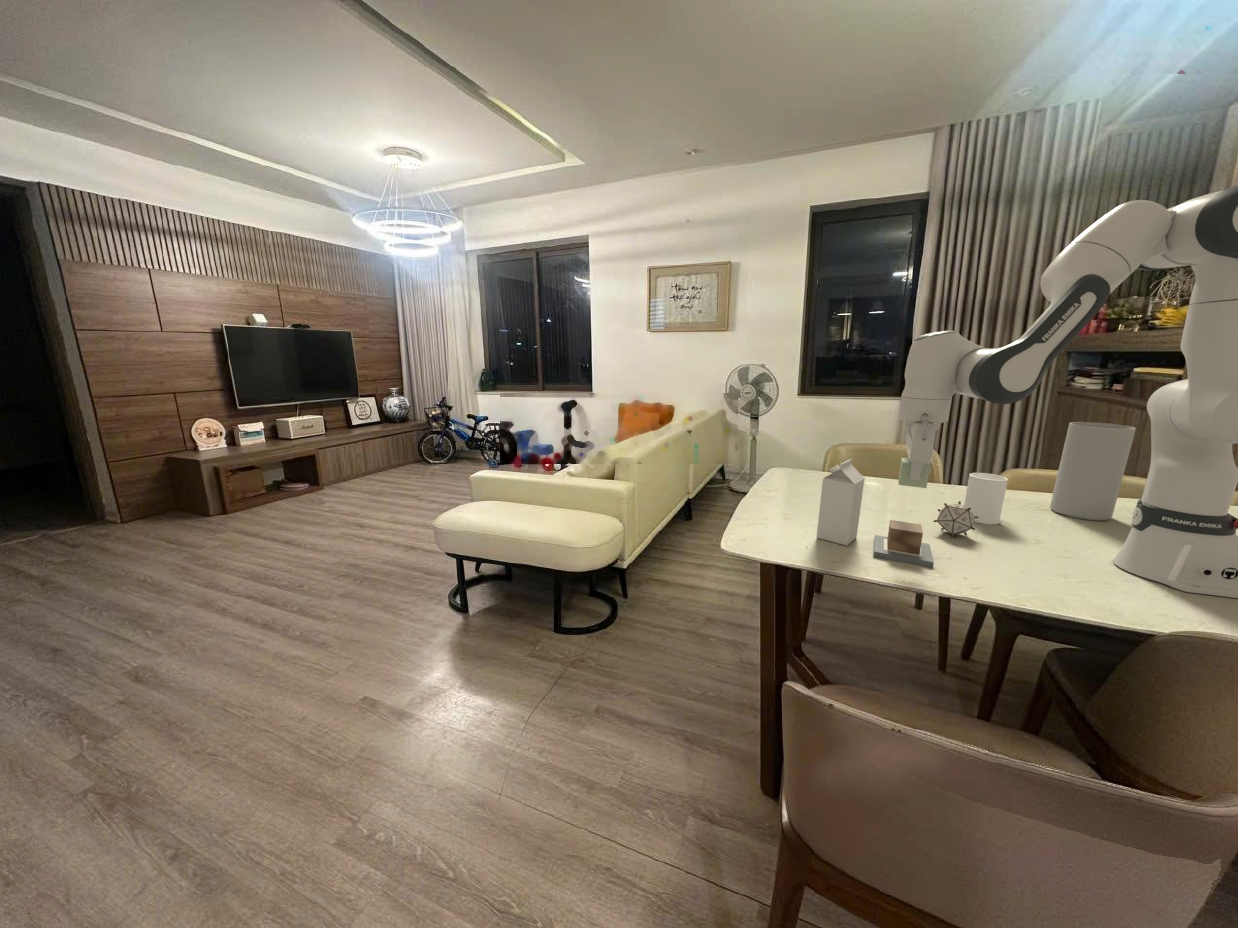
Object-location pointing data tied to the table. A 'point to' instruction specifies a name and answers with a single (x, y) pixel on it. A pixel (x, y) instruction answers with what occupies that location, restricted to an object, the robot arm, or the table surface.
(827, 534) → the milk carton
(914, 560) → the board
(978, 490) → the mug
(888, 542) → the walnut block
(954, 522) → the game die
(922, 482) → the sage cube
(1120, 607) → the table surface
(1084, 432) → the cylinder vase
